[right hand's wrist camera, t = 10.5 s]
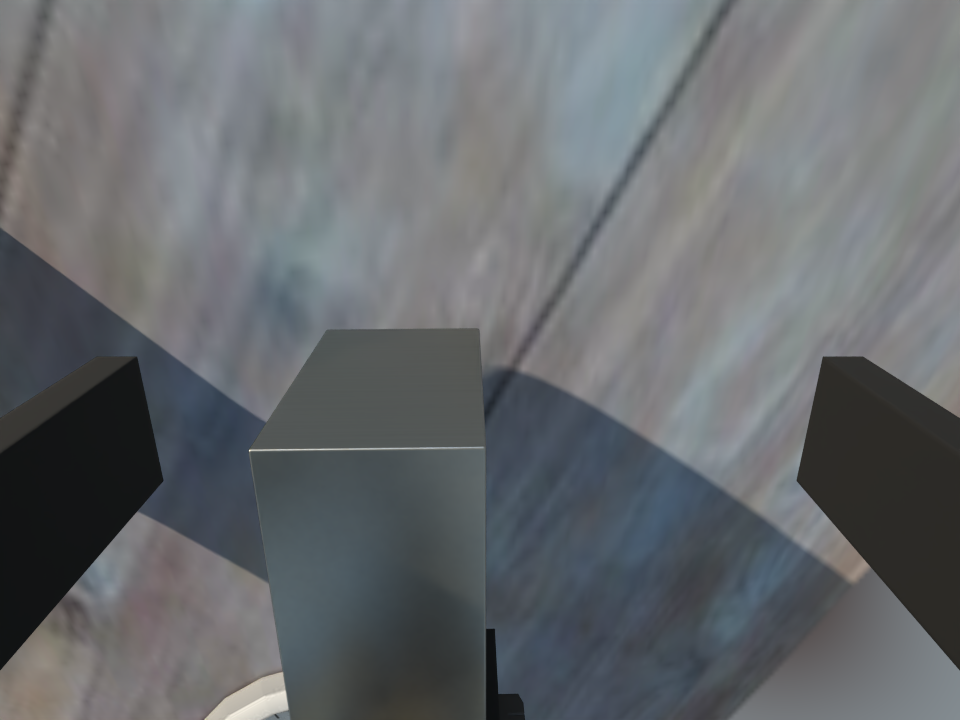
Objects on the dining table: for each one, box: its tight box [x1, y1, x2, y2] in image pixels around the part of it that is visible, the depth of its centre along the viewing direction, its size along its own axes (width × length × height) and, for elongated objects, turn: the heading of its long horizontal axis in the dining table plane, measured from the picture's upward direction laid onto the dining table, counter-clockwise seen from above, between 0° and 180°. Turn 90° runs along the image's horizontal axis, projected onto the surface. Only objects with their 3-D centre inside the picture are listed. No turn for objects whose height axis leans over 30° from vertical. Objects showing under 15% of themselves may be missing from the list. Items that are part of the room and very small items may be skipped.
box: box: [249, 328, 486, 720], centre depth 26 cm, size 20×7×11 cm, turn 0°
